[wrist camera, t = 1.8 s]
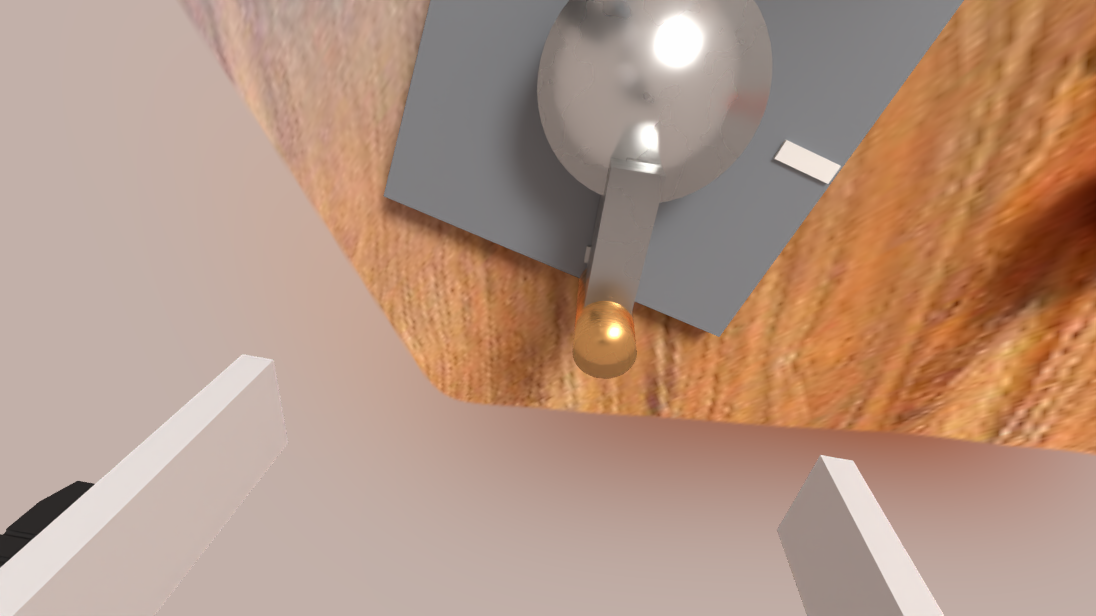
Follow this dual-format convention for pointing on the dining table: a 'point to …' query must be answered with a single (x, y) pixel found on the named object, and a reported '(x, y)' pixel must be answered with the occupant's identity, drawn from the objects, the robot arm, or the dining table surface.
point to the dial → (645, 132)
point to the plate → (681, 224)
